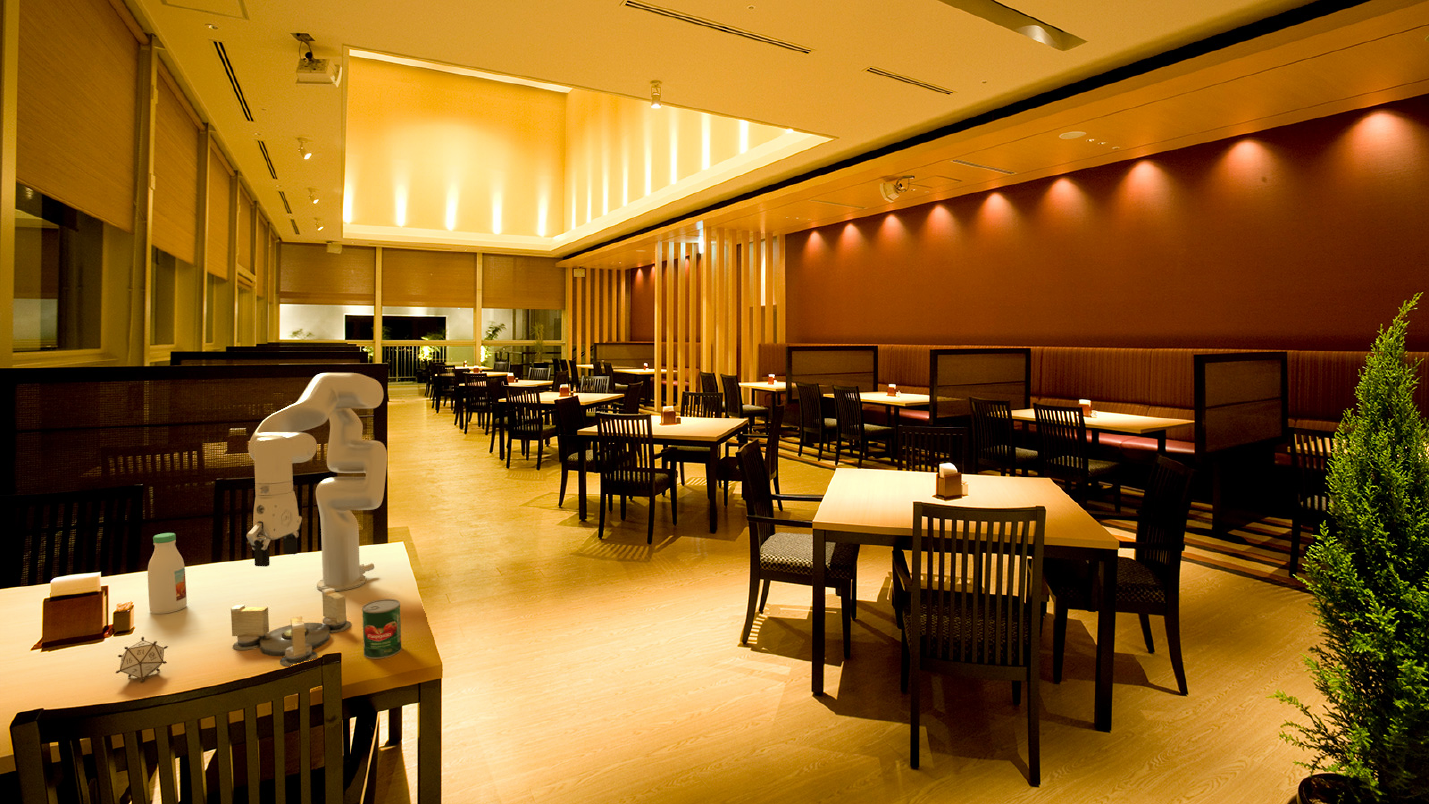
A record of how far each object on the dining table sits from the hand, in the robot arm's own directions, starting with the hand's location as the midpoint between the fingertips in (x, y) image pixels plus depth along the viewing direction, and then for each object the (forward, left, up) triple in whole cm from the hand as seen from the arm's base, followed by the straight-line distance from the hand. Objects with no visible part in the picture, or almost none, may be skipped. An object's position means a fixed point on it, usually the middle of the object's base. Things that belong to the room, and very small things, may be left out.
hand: (276, 559), depth 166 cm
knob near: (-9, +7, -19) cm, 22 cm away
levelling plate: (-2, +7, -19) cm, 20 cm away
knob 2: (+6, +15, -19) cm, 25 cm away
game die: (+26, -5, -19) cm, 32 cm away
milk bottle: (+3, -42, -19) cm, 46 cm away
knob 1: (+6, -2, -19) cm, 20 cm away
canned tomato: (-5, +29, -19) cm, 35 cm away
